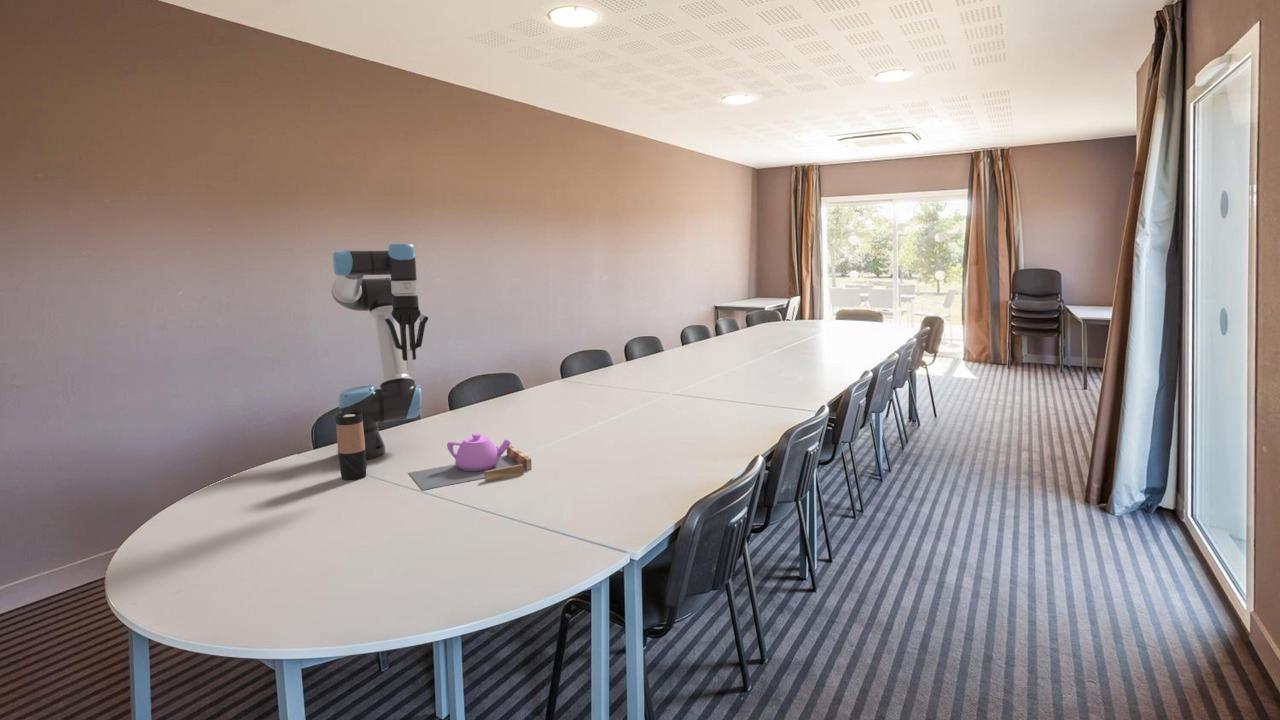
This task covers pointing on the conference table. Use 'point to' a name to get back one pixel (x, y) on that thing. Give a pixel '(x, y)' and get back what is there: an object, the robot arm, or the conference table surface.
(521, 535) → the conference table surface
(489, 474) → the bay
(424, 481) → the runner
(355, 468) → the travel mug
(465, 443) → the teapot
